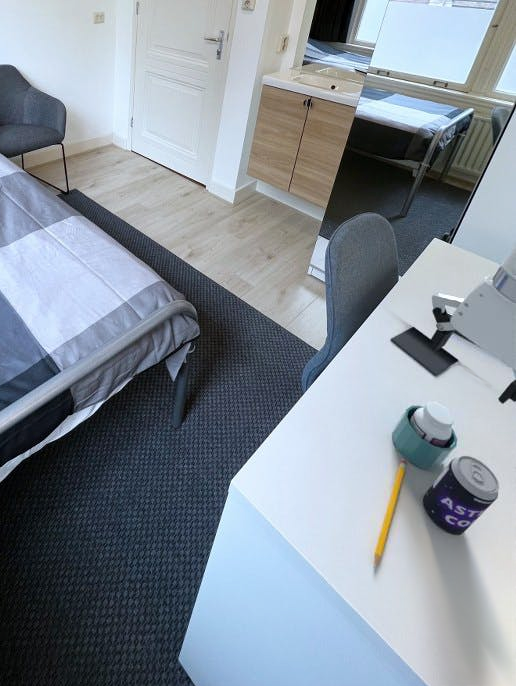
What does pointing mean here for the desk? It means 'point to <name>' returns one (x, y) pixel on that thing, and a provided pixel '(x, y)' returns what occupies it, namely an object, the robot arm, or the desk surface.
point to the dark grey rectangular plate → (424, 350)
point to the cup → (420, 444)
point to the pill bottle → (433, 423)
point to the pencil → (389, 513)
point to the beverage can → (460, 494)
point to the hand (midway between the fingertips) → (468, 371)
